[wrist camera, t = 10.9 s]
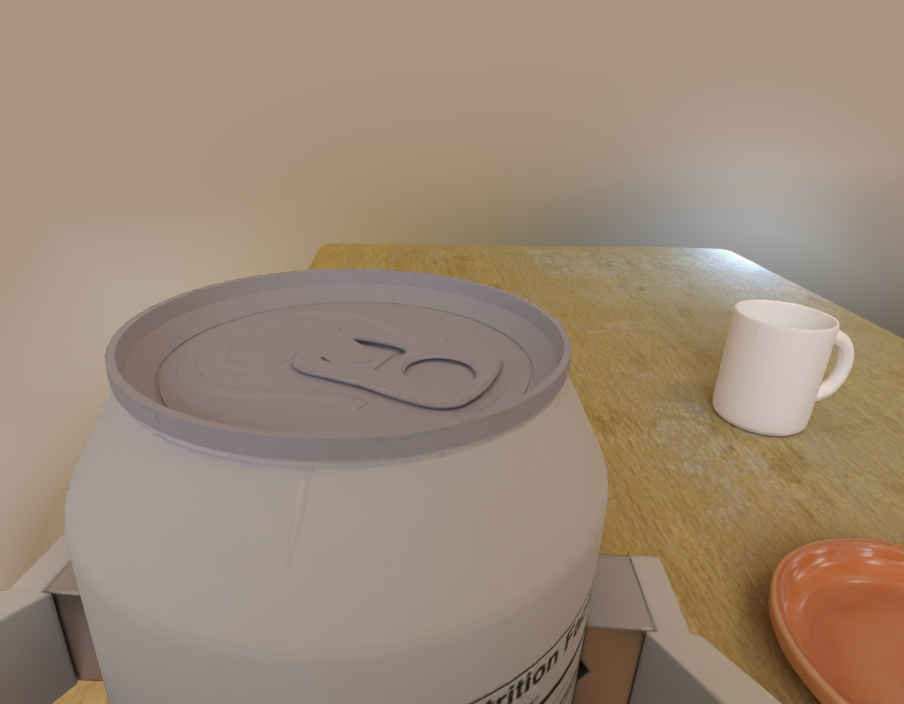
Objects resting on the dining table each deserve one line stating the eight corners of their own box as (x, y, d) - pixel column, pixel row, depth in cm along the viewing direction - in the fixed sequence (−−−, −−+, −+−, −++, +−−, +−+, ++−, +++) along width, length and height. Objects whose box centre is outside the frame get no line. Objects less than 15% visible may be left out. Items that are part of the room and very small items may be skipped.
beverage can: (319, 671, 16) (292, 242, 12) (565, 776, 14) (654, 295, 9) (95, 989, 10) (-145, 373, 6) (459, 1265, 8) (561, 608, 3)
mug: (806, 395, 60) (836, 300, 56) (865, 438, 53) (905, 331, 49) (695, 396, 59) (717, 298, 55) (739, 439, 51) (768, 330, 47)
